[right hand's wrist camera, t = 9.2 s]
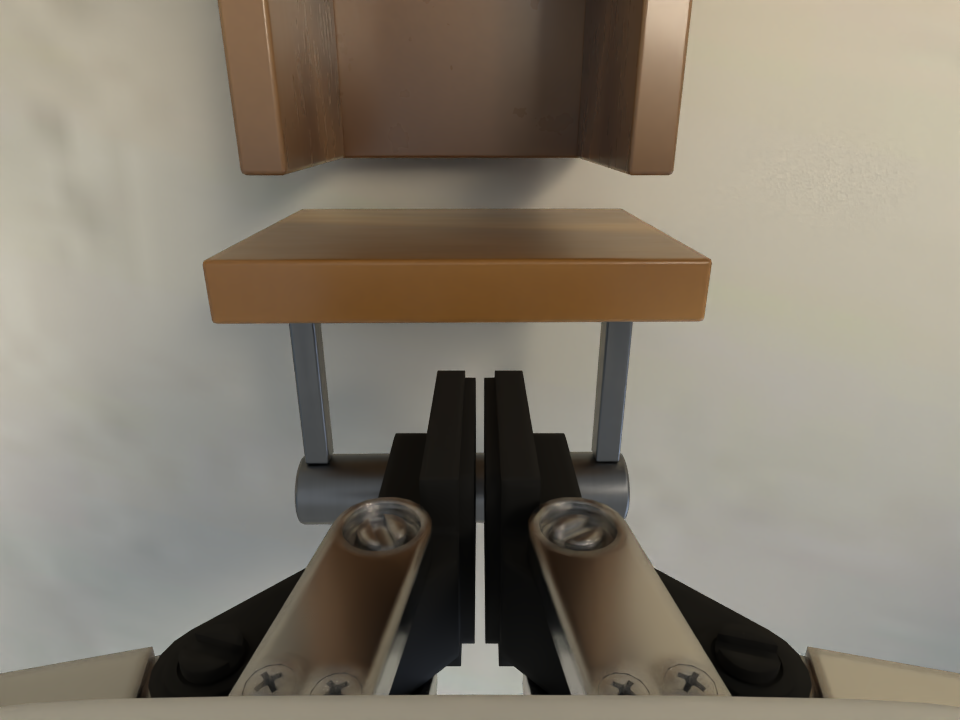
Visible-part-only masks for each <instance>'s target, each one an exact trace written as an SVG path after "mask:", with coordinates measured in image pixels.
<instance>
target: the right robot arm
mask: <svg viewBox="0 0 960 720" xmlns="http://www.w3.org/2000/svg"><path fill="white" fill-rule="evenodd" d="M484 555H485V643H498V649H499V666H514V667H516V668H517V669H518V670H519V671H521V672H522V673H523V695H437V673H438V672H439V671H441V670H442V669H443V668H444V667H446V666H461V649H462V643H475V556H476V378H465V371H438V372H437V378H436V383H435V389H434V395H433V401H432V407H431V413H430V419H429V425H428V431H427V433H396V434H395V437H394V440H393V444H392V448H391V452H390V455H389V459H388V463H387V466H386V470H385V474H384V477H383V481H382V485H381V489H380V492H379V496H378V498H375V499H369V500H365V501H363V502H360V503H357V504H355V505H353V506H351V507H350V508H348V509H347V510H345V511H343V512H342V513H341V514H340V515H339V517H338V518H337V519H336V520H335V521H334V523H333V524H332V526H331V528H330V529H329V531H328V533H327V534H326V536H325V538H324V539H323V541H322V543H321V544H320V546H319V547H318V549H317V551H316V552H315V554H314V556H313V557H312V559H311V561H310V562H309V564H308V566H307V567H306V568H305V569H303V570H301V571H299V572H298V573H296V574H294V575H292V576H290V577H288V578H287V579H285V580H283V581H281V582H279V583H277V584H275V585H274V586H272V587H270V588H268V589H266V590H264V591H262V592H261V593H259V594H257V595H255V596H253V597H251V598H250V599H248V600H246V601H244V602H242V603H240V604H238V605H237V606H235V607H233V608H231V609H229V610H227V611H226V612H224V613H222V614H220V615H218V616H216V617H214V618H213V619H211V620H209V621H207V622H205V623H203V624H202V625H200V626H198V627H196V628H194V629H192V630H191V631H189V632H188V633H186V634H185V635H183V636H182V637H180V638H179V639H177V640H176V641H174V642H173V643H172V644H171V645H170V646H169V647H168V648H167V649H166V650H165V651H164V652H163V653H162V654H161V655H159V656H155V655H154V651H153V647H147V648H141V649H136V650H130V651H125V652H119V653H113V654H108V655H102V656H96V657H91V658H85V659H80V660H74V661H68V662H63V663H57V664H52V665H46V666H40V667H35V668H29V669H23V670H18V671H12V672H7V673H1V674H0V720H960V674H959V673H953V672H948V671H942V670H937V669H931V668H925V667H920V666H914V665H908V664H903V663H897V662H892V661H886V660H880V659H875V658H869V657H864V656H858V655H852V654H847V653H841V652H835V651H830V650H824V649H819V648H813V647H807V651H806V655H805V656H801V655H799V654H798V653H797V652H796V651H795V650H794V649H793V648H792V647H791V646H790V645H789V644H788V643H787V642H786V641H784V640H783V639H781V638H780V637H778V636H777V635H775V634H774V633H772V632H771V631H769V630H768V629H766V628H764V627H762V626H760V625H758V624H757V623H755V622H753V621H751V620H749V619H747V618H746V617H744V616H742V615H740V614H738V613H736V612H734V611H733V610H731V609H729V608H727V607H725V606H723V605H722V604H720V603H718V602H716V601H714V600H712V599H710V598H709V597H707V596H705V595H703V594H701V593H699V592H698V591H696V590H694V589H692V588H690V587H688V586H686V585H685V584H683V583H681V582H679V581H677V580H675V579H673V578H672V577H670V576H668V575H666V574H664V573H662V572H661V571H659V570H657V569H655V568H654V567H653V566H652V564H651V562H650V561H649V559H648V557H647V556H646V554H645V552H644V551H643V549H642V547H641V546H640V544H639V543H638V541H637V539H636V538H635V536H634V534H633V533H632V531H631V529H630V528H629V526H628V524H627V523H626V521H625V520H624V519H623V518H622V517H621V515H620V514H619V513H618V512H617V511H615V510H613V509H612V508H610V507H609V506H607V505H605V504H603V503H600V502H597V501H595V500H591V499H585V498H582V496H581V492H580V489H579V485H578V481H577V477H576V474H575V470H574V466H573V463H572V459H571V455H570V452H569V448H568V444H567V440H566V437H565V434H564V433H533V431H532V425H531V419H530V413H529V407H528V401H527V395H526V389H525V383H524V378H523V372H522V371H495V378H484Z"/></svg>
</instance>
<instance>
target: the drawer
mask: <svg viewBox="0 0 960 720" xmlns="http://www.w3.org/2000/svg"><path fill="white" fill-rule="evenodd" d="M218 7H219V14H220V22H221V29H222V36H223V44H224V51H225V58H226V66H227V73H228V80H229V88H230V95H231V102H232V110H233V117H234V124H235V132H236V139H237V146H238V154H239V161H240V168H241V171H242V173H243V174H245V175H285V174H289V173H292V172H296V171H299V170H303V169H306V168H309V167H313V166H316V165H320V164H323V163H327V162H330V161H334V160H337V159H341V158H581V159H584V160H587V161H590V162H593V163H596V164H599V165H602V166H605V167H608V168H611V169H614V170H617V171H620V172H624V173H627V174H630V175H670V174H672V172H673V169H674V160H675V151H676V142H677V133H678V124H679V116H680V107H681V98H682V89H683V80H684V71H685V62H686V53H687V44H688V35H689V26H690V17H691V9H692V0H218ZM711 265H712V262H711V259H709V258H707V257H706V256H704V255H702V254H700V253H699V252H697V251H695V250H693V249H692V248H690V247H688V246H686V245H685V244H683V243H681V242H679V241H677V240H676V239H674V238H672V237H670V236H669V235H667V234H665V233H663V232H662V231H660V230H658V229H656V228H655V227H653V226H651V225H649V224H647V223H646V222H644V221H642V220H640V219H639V218H637V217H635V216H633V215H632V214H630V213H628V212H626V211H625V210H623V209H302V210H299V211H298V212H296V213H294V214H292V215H290V216H288V217H286V218H284V219H282V220H280V221H279V222H277V223H275V224H273V225H271V226H269V227H267V228H265V229H263V230H261V231H260V232H258V233H256V234H254V235H252V236H250V237H248V238H246V239H244V240H242V241H240V242H239V243H237V244H235V245H233V246H231V247H229V248H227V249H225V250H223V251H221V252H220V253H218V254H216V255H214V256H212V257H210V258H208V259H206V260H204V262H203V269H204V275H205V281H206V287H207V293H208V299H209V305H210V311H211V317H212V321H213V323H217V324H257V323H289V329H290V337H291V345H292V354H293V362H294V370H295V379H296V387H297V396H298V404H299V412H300V421H301V429H302V437H303V446H304V454H305V456H304V457H303V458H302V459H301V462H300V464H299V467H298V471H297V476H296V482H295V507H296V512H297V516H298V519H299V521H300V522H301V523H303V524H333V523H334V521H335V520H336V519H337V518H338V517H339V515H340V514H341V513H342V512H343V511H345V510H347V509H348V508H350V507H351V506H353V505H355V504H357V503H360V502H363V501H365V500H369V499H375V498H378V496H379V492H380V489H381V485H382V481H383V477H384V474H385V470H386V466H387V463H388V459H389V455H390V454H333V442H332V432H331V422H330V412H329V402H328V392H327V382H326V372H325V362H324V352H323V342H322V332H321V323H471V322H602V323H601V336H600V349H599V362H598V375H597V388H596V400H595V413H594V426H593V439H592V452H570V455H571V459H572V463H573V466H574V470H575V474H576V477H577V481H578V485H579V489H580V492H581V496H582V498H585V499H591V500H595V501H597V502H600V503H603V504H605V505H607V506H609V507H610V508H612V509H613V510H615V511H617V512H618V513H619V514H620V515H621V517H622V518H623V519H625V518H626V516H627V513H628V508H629V500H630V486H629V476H628V470H627V466H626V462H625V460H624V457H623V455H622V454H621V453H620V448H621V437H622V427H623V417H624V406H625V396H626V386H627V376H628V365H629V355H630V345H631V334H632V324H633V322H685V321H702V320H703V319H704V314H705V307H706V300H707V293H708V286H709V279H710V272H711ZM476 523H484V453H476Z"/></svg>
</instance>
